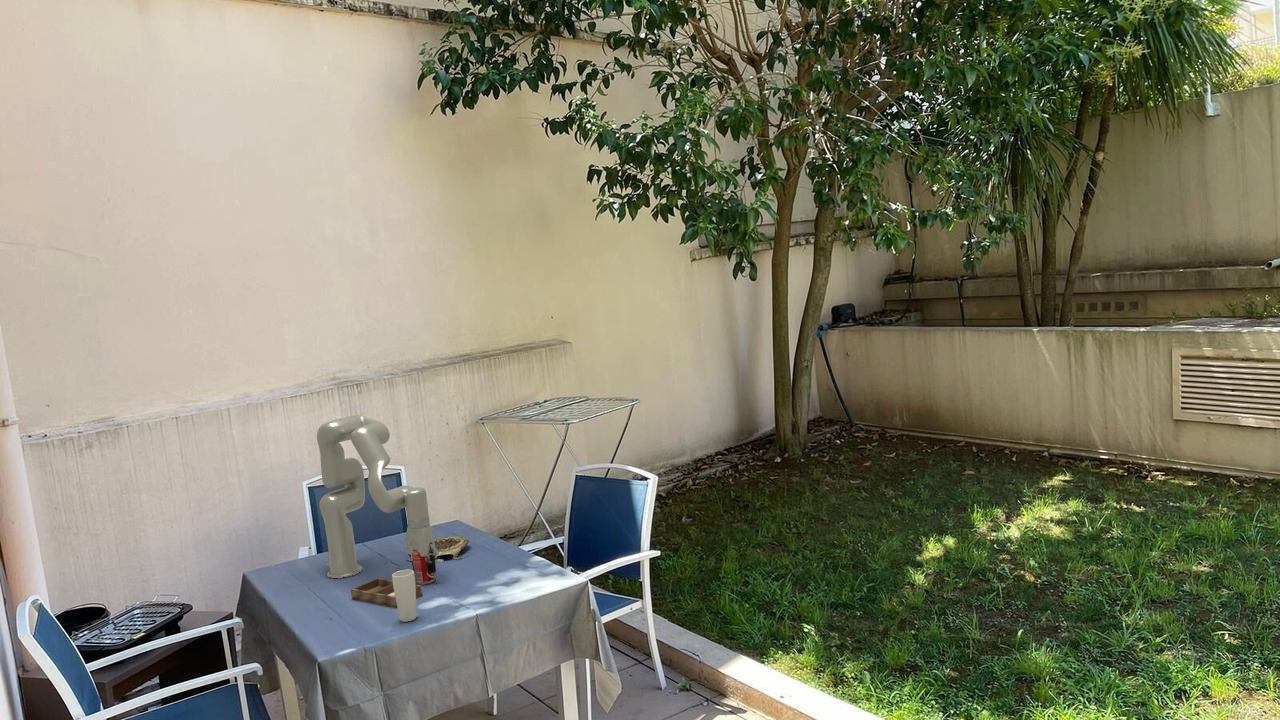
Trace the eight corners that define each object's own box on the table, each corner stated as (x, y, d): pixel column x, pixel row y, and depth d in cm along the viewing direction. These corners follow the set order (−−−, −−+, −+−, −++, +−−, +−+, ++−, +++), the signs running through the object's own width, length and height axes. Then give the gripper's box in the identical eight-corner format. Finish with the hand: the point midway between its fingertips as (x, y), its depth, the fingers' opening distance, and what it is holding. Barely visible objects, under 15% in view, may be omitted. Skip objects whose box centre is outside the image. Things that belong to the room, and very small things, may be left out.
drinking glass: (399, 616, 273) (394, 570, 272) (421, 613, 273) (415, 568, 272) (395, 624, 266) (389, 577, 265) (417, 622, 267) (411, 575, 265)
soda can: (430, 585, 300) (426, 549, 299) (412, 585, 302) (407, 549, 301) (439, 578, 307) (435, 542, 306) (421, 578, 309) (416, 543, 308)
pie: (395, 557, 339) (393, 545, 339) (455, 539, 357) (454, 528, 357) (430, 570, 318) (428, 557, 318) (492, 551, 337) (491, 538, 336)
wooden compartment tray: (352, 599, 294) (350, 589, 293) (379, 587, 303) (378, 578, 303) (395, 607, 281) (394, 597, 281) (422, 595, 291) (421, 585, 290)
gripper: (393, 524, 304) (399, 572, 306) (427, 528, 295) (433, 578, 296) (410, 518, 311) (416, 565, 312) (443, 521, 301) (449, 571, 302)
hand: (424, 571), depth 304 cm, fingers closed on soda can, 7 cm apart
